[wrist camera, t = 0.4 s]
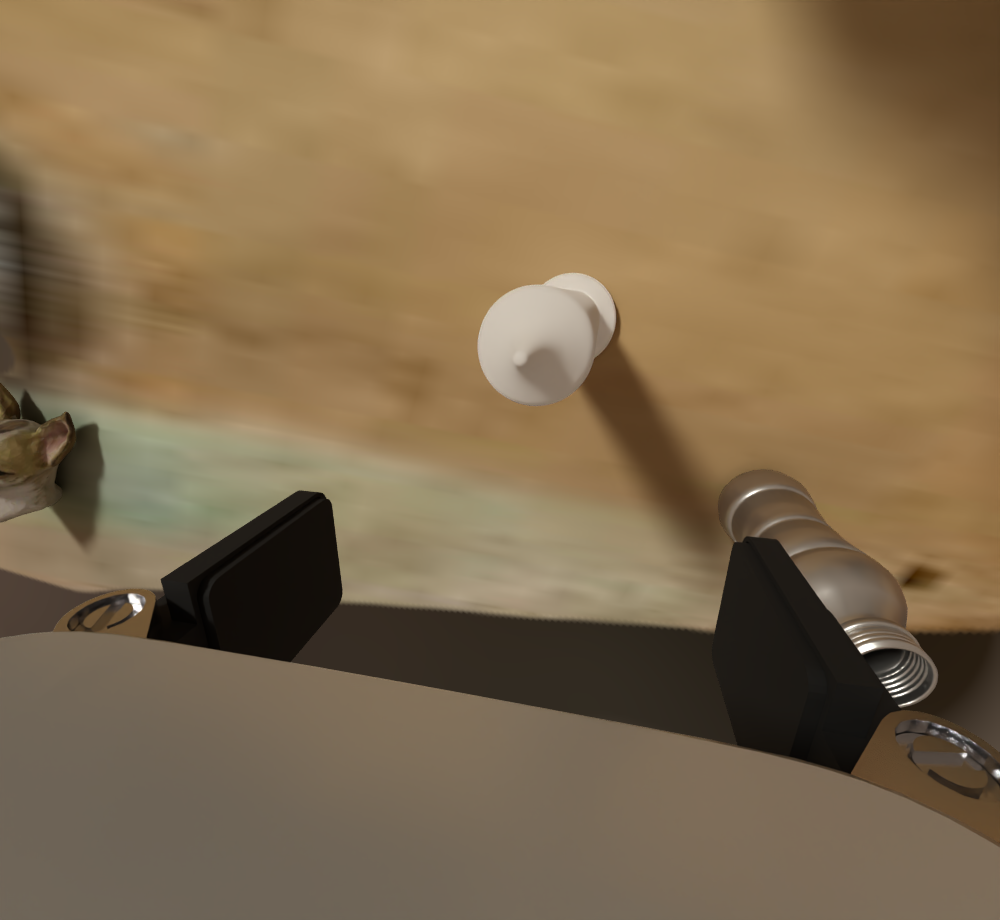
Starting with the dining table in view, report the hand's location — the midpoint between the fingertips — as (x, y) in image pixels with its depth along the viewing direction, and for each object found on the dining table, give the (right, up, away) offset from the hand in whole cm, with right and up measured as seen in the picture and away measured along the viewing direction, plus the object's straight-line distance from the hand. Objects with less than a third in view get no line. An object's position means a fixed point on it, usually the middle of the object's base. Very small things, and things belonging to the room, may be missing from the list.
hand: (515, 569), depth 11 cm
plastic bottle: (+21, -1, +29) cm, 35 cm away
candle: (+5, +14, +27) cm, 31 cm away
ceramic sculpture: (-52, +4, +43) cm, 68 cm away
